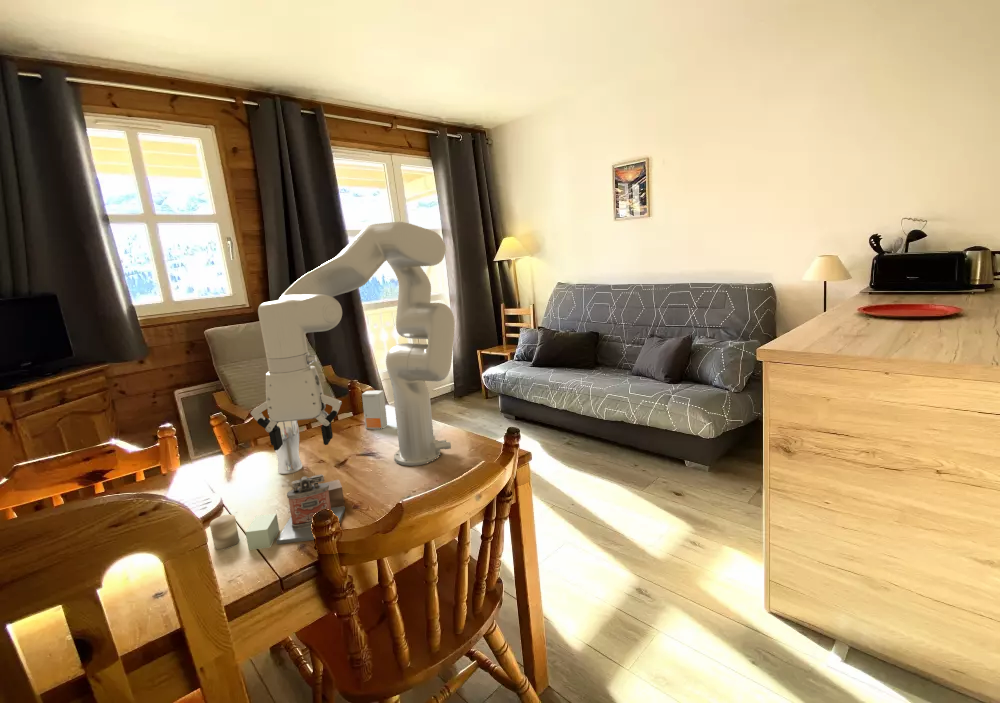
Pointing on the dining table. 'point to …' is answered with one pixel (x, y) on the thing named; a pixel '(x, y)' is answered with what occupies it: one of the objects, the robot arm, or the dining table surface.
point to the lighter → (307, 500)
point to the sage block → (262, 531)
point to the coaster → (302, 530)
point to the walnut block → (335, 493)
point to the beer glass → (289, 448)
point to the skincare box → (374, 409)
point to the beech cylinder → (224, 532)
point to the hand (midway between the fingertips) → (303, 445)
